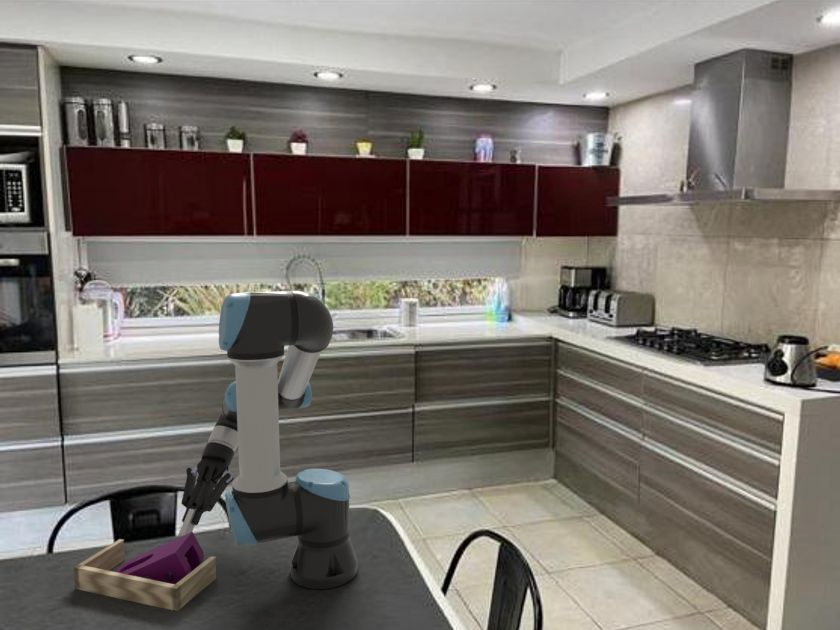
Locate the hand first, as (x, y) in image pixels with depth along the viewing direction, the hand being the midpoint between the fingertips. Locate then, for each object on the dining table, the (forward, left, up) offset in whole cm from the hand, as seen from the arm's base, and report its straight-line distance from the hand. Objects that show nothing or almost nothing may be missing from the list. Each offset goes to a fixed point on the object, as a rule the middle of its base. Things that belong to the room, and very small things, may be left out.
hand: (183, 537), depth 152 cm
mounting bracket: (-2, +12, -5) cm, 13 cm away
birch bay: (-1, +13, -4) cm, 14 cm away
